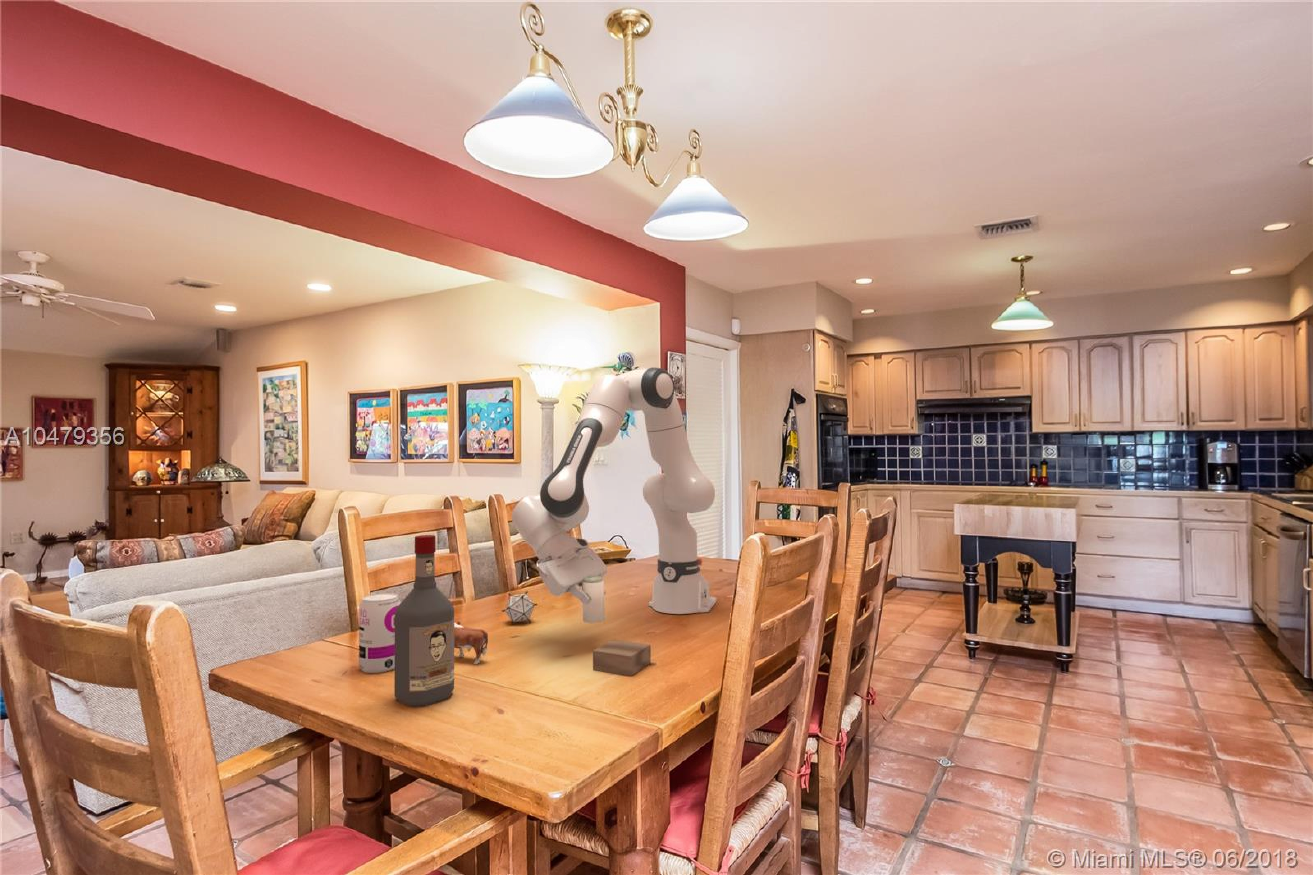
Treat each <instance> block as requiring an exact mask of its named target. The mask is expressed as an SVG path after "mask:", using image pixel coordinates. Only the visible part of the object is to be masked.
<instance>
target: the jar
mask: <svg viewBox="0 0 1313 875" xmlns="http://www.w3.org/2000/svg"><path fill="white" fill-rule="evenodd" d="M583 579H584V580H583V582H582V587H581V590H582V591H583V592H584V593H588V594H589V596H590V597H591V601H589V603H587V604H583V603H582V621H583V622H584V623H588V624H596V623H602V622H604V621H605V619H606V618H605V595H604V590H605V580H604V579H603V577H602V576H596V575H594V576H588V577H585V578H583Z"/></svg>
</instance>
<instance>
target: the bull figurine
mask: <svg viewBox="0 0 1313 875" xmlns="http://www.w3.org/2000/svg"><path fill="white" fill-rule="evenodd" d="M488 635H489V633H488V632H487V631H486V630H484V629H478V628H469V627H466V626H464V625H461V622H460V621H456V622H455V621H454V649H459V654H458V658H463V657H465V654H464V651H463V649H467V652H471V650H472V649H474V653H475V655H476V656H475V658H474V660H475V661H474V663H473V665H476V664H477V665H478V664H479V663H480V660H481V659H482V656H483V657H484V656H485V655H486V653H487V650H488V641H489V636H488Z"/></svg>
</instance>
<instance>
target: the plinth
mask: <svg viewBox="0 0 1313 875" xmlns="http://www.w3.org/2000/svg"><path fill="white" fill-rule="evenodd" d="M651 649H652V648H651V644H650V643H648V644H647V643H641V642H636V641H635V642H634V641H628V640H621V639H615V638H614V639H612V640H610V641H609V642H607V643H605V644H603V645H601V646H599V647H597V648H595V649H593V650H592V670H593V671H598V672H603V673H609V674H615V675H621V676H626V677H632V676H633V675H635V674H637V673H638V672H639V671H641V670H643V669H644V668H646V667H647V666H649V665H651V660H652V659H651V658H652V657H651V655H652V654H651V653H652V652H651Z"/></svg>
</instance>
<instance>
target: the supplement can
mask: <svg viewBox="0 0 1313 875" xmlns="http://www.w3.org/2000/svg"><path fill="white" fill-rule="evenodd" d="M401 602H402V601H401V600H400V598H399V595H398V594H397V593H390V592H387V593H385V592H384V593H373V594H369V595H364V597H362V599H361V601H360V603H359V605H358V607H359V609H358V615H359V616H358V619H359V620H358V629H359V630H358V668H359V669H360V670H361V672H363V673H366V674H367V673H368V674H380V673H387V672H390V671H393V670H395V612H396V609H397V607H398V606H399V605H400V603H401Z"/></svg>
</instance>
